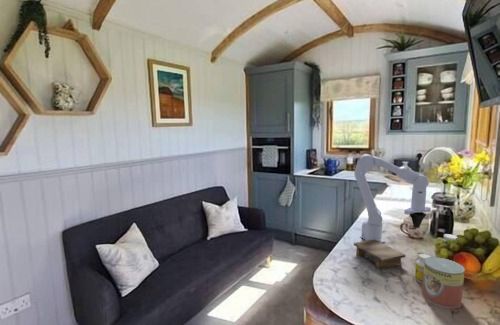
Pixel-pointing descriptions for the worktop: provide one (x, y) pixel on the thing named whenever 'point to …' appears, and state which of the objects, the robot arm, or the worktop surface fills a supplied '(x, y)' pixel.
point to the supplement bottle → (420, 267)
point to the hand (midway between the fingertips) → (416, 227)
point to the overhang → (379, 253)
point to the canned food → (443, 282)
